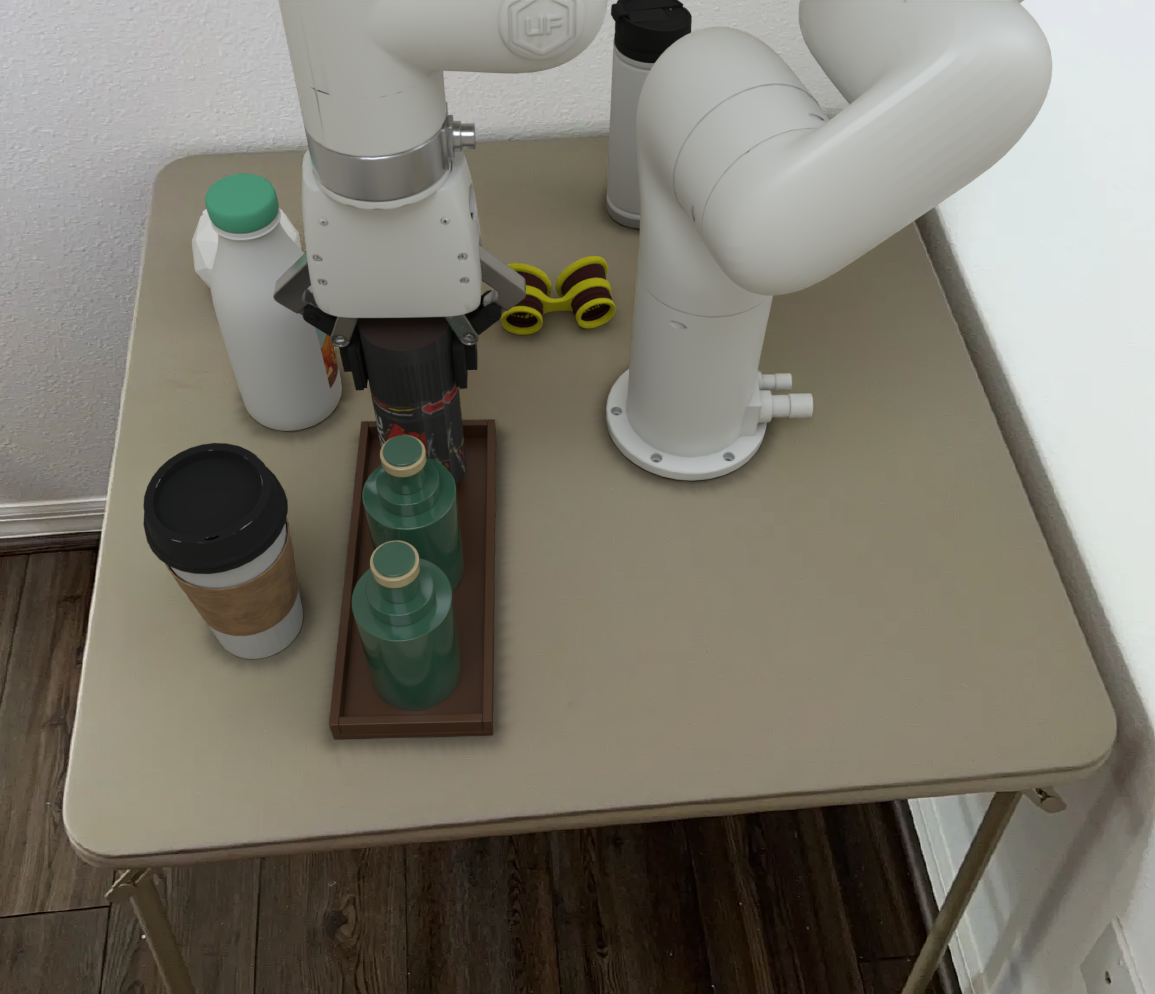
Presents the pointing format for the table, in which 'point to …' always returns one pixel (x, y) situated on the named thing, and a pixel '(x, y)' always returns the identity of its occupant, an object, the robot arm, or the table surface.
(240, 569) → the coffee cup
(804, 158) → the robot arm
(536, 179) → the table surface
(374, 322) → the deodorant
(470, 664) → the tray
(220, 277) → the milk bottle
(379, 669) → the bottle front
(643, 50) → the travel mug
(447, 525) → the bottle middle
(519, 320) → the opera glasses
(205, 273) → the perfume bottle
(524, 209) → the table surface
